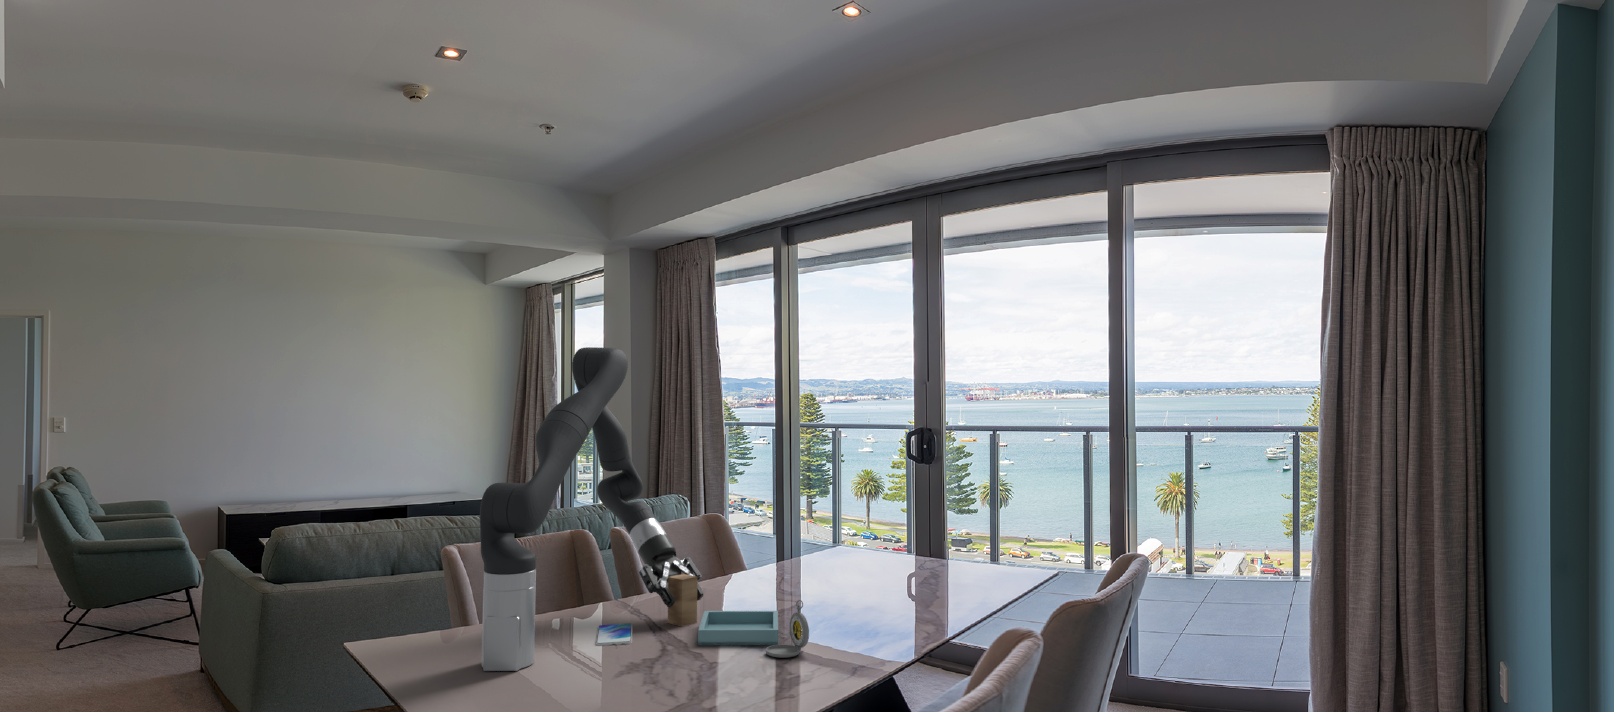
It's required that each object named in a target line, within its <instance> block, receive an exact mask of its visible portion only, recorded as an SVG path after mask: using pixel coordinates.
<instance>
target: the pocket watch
mask: <svg viewBox="0 0 1614 712" xmlns="http://www.w3.org/2000/svg"><path fill="white" fill-rule="evenodd" d="M799 602H800V603H801V604H798V603H799ZM795 605H796V610H797V612H794V613H793V614H792V615H791V616H790V621H789V635H790V637H791V638H790V639H791V641H792V643H793V645H792V644H778V645H768V646H767V647H766V648H765V653H766V654H767V655H768V656H770V657H773V658H774V657H775V658H779V659H780V658H792V657H796V656H797V655H799V654H800V652H801V649H802V648H804V647H806V646H807V644H808V642H809V637H810V628H809V623H808V620H807V618H806V616H805V615H804V614H803V613H802V612H801V610H802V608H803V607H804V602H803V600H801V599H798V600H797V601H796V604H795Z"/></svg>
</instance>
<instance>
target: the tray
mask: <svg viewBox="0 0 1614 712" xmlns="http://www.w3.org/2000/svg"><path fill="white" fill-rule="evenodd" d="M697 636H698V637H697V646H773V645H779V610H704V611H703V614H702V618H701V621H700V623H699V627H698V631H697Z"/></svg>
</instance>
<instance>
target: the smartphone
mask: <svg viewBox="0 0 1614 712" xmlns="http://www.w3.org/2000/svg"><path fill="white" fill-rule="evenodd" d="M632 643H633V624H632V623H631V622H630V623H629V622H628V623H627V622H626V623H611V624H599V625H598V627H597V632H596V638H595V646H598V647H599V646H600V647H601V646H602V647H604V646H613V645H615V646H622V645H624V646H626V645H631V644H632Z"/></svg>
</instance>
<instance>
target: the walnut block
mask: <svg viewBox="0 0 1614 712" xmlns="http://www.w3.org/2000/svg"><path fill="white" fill-rule="evenodd" d="M667 588H668V589H669V591H670V593H671V594H672V596H673V598H674V600H675V603H674V604H673V605H672V607H667V623H668V624H671V625H675V626H678V627H685V626H688V625H692V624H697V623H698V601H697V576H695V575H694V576H691V575H686V574H684V573H681V575H676V576H671V577H668V583H667Z"/></svg>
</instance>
